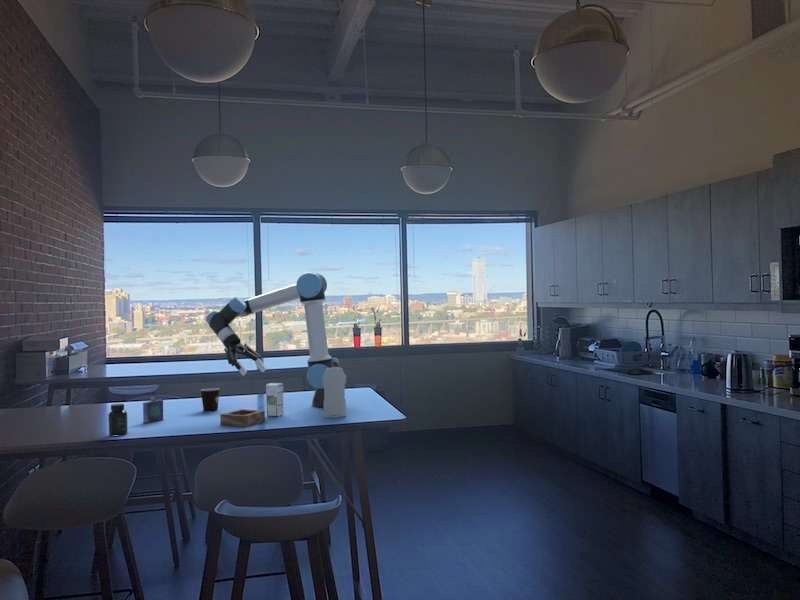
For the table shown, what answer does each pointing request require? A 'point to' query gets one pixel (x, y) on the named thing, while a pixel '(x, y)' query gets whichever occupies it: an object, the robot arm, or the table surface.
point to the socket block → (242, 417)
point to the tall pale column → (334, 393)
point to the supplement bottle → (117, 420)
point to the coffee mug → (210, 399)
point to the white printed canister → (274, 399)
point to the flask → (153, 410)
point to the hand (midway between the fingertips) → (255, 372)
